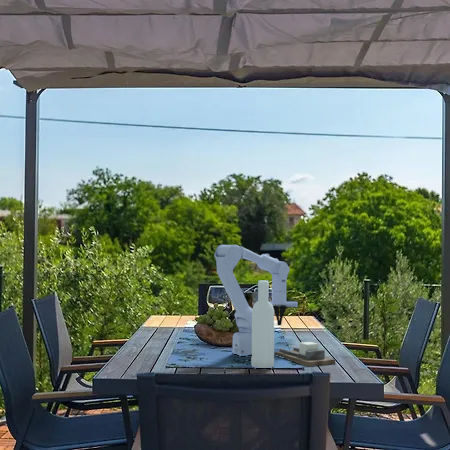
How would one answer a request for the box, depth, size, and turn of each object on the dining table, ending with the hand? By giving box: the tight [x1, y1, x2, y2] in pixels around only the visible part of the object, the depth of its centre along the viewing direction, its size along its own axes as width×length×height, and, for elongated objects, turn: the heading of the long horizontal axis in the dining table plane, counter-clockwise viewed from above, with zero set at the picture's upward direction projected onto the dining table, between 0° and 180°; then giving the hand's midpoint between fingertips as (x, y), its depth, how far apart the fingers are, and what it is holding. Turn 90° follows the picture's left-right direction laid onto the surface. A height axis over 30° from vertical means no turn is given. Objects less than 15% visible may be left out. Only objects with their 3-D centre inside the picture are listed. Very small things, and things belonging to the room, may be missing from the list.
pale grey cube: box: [298, 341, 319, 356], centre depth 217 cm, size 5×5×5 cm
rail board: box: [274, 347, 336, 367], centre depth 220 cm, size 12×22×4 cm, turn 28°
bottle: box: [250, 279, 275, 368], centre depth 206 cm, size 8×8×30 cm
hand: (279, 325), depth 237 cm, fingers closed
